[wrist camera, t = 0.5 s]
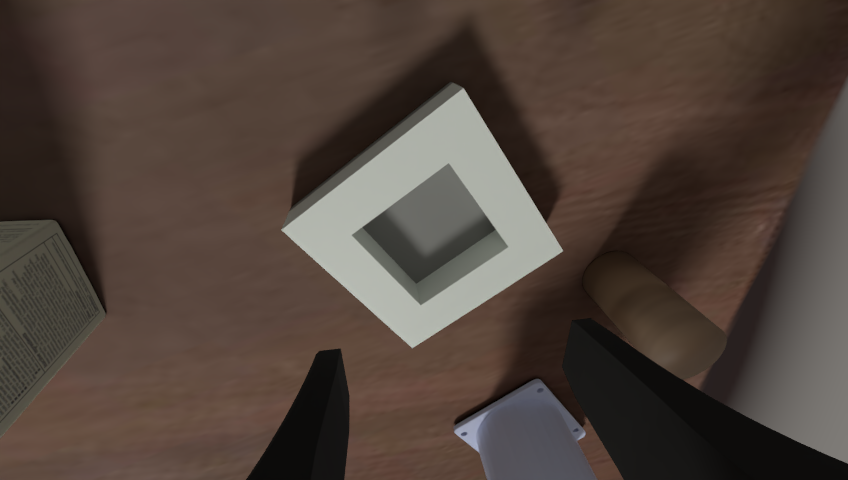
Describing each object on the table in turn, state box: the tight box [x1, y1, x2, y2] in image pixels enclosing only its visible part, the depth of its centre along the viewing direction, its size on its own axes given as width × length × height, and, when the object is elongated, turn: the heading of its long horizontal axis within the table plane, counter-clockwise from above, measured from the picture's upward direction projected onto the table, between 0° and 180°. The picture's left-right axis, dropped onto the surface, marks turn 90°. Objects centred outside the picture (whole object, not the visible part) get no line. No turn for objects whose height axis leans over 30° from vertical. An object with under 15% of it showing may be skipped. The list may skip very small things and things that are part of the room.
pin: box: [582, 251, 727, 379], centre depth 21 cm, size 4×4×7 cm
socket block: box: [282, 82, 563, 348], centre depth 19 cm, size 10×10×2 cm
